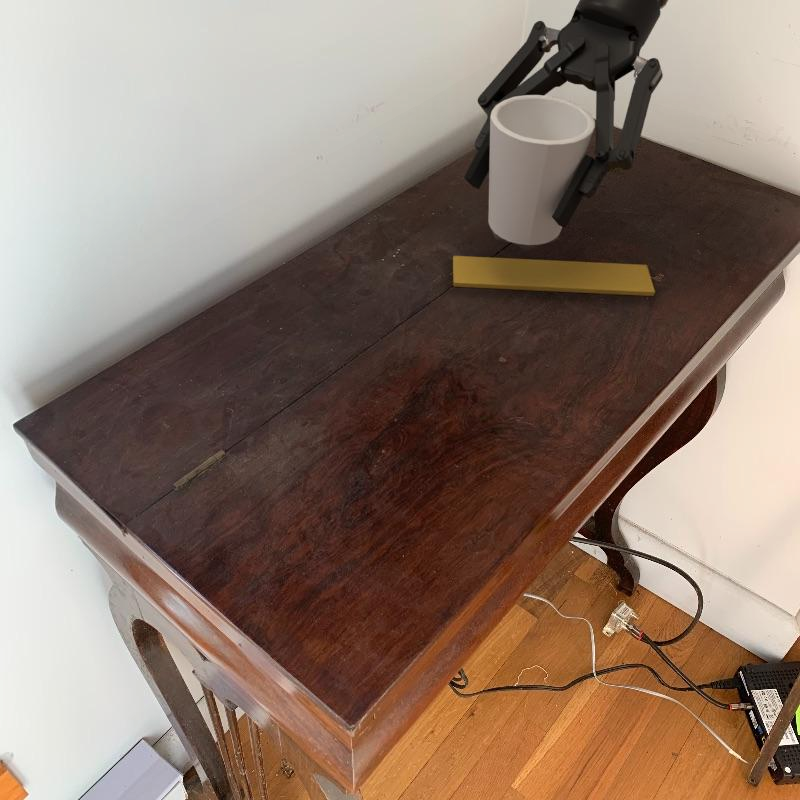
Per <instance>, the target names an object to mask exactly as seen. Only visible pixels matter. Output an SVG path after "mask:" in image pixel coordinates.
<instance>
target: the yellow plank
mask: <svg viewBox="0 0 800 800" xmlns="http://www.w3.org/2000/svg"><path fill="white" fill-rule="evenodd" d="M452 276H453V277H452V284H453V288H471V289H472V288H475V289H494V290H495V289H496V290H514V291H515V290H517V291H540V292H559V293H560V292H561V293H578V294H598V295H599V294H603V295H623V296H640V297H641V296H642V297H654V296H655V294H656V289H655V288H654V284H653V281H652V277H651V273H650V269H649V267H648V265H647V264H637V263H636V264H634V263H617V262H616V263H615V262H613V263H612V262H593V261H572V260H552V259H529V258H509V257H486V256H470V255H469V256H466V255H453V256H452Z"/></svg>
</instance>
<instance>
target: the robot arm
mask: <svg viewBox="0 0 800 800" xmlns="http://www.w3.org/2000/svg"><path fill="white" fill-rule="evenodd" d="M668 2H669V0H579V1H578V3H577V4H576V7H575V9H574V12H573V14H572V16H571V19H570V20H569V22H568V23H567V24H566V25H565V26H563V27H562V28H561V29H556V28H551V27H547V25H546V24H545V22H544V21H543V20H538V21H536V22H534V24H533V26H532V28H531V30H530V33H529V35H528V37H527V39H526V41H525V42H524V43H523V45H522V46H521V47H520V48H519V49H518V50H517V51H516V52H515V54H514V55H513V56H512V57H511V58H510V60H509V61H508V62H507V63H506V64H505V65H504V67H503V68H502V69H501V70H500V72H499V73H498V74H497V75H496V76H495V77H494V78H493V80H491V82H490V83H489V84H488V85H487V87H486V88H485V89H484V90H483V91H482V92H481V93H480V95H479V96H478V97H477V104H478V105H479V107H480V108H481V109H482V110H483V112H484V113H485V114H486V115H487V116H486V120H485V122H484V123H483V126H482V127H481V130H480V131H479V133H478V136H477V137H476V139H475V141H474V148H475V149H476V150H477V152H476V153H475V155H474V157H473V159H472V161H471V163H470V165H469V167H468V168H467V170H466V172H465V174H464V175H463V178H464V179H465V181H467V183H468V184H470V186H471V187H472V188H475V189H476V190H480V188H481V187H482V185H483V183H484V181H485V179H486V177H487V175H488V174H489V162H490V116H491V112H492V110H493V109H494V107H495V106H496V105H497V104H499V103H501V102H502V101H504V100H507V99H509V98H512V97H516V96H523V95H543V96H547V95H548V94H549V92H551V91H552V90H554V89H556V88H560V87H562V86H563V85H564V84H566V83H567V82H568V83H571V84H573V85H581V86H584V87H585V88H586V89H588V90H589V91H593V92H595V95H596V97H595V150H593V154H594V156H595V157H593V156H590V155H587V154H586V155H585V157H584V159H583V161H582V163H581V164H580V166H579V168H578V170H577V172H576V174H575V175H574V177H573V179H572V181H571V183H570V184H569V186H568V188H567V190H566V192H565V193H564V195H563V197H562V199H561V201H560V202H559V204H558V206H557V208H556V210H555V212H554V213H553V215H552V218H553V219H554V220H555V221H556V222H557V224H558V225H559V226H561V227H562V228H564V229H566V228H567V226H568V225H569V222H570V221H571V219H572V217H573V216H574V214H575V212H576V210H577V208H578V206H579V205H580V203H581V200H582V199H583V197H585V198H586V199H591V198H592V197H594V195H595V194H596V192H597V191H598V189H599V187H600V185H601V184H602V182H603V180H604V178H605V177H606V174H607V173H608V172H609V171H610V170H612V169H615V168H616V169H618V168H619V169H622V170H627V171H628V170H630V169H631V168H632V167H633V165H634V163H635V160H636V155H637V152H638V147H639V144H640V140H641V136H642V133H643V130H644V129H643V128H644V125H645V121H646V118H647V114H648V108H649V106H650V102H651V98H652V94H653V92H655V90H656V88H657V87H658V85H659V84H660V82H661V81H662V80H663V75H664V73H663V70H662V67H661V64H660V61H659V59H658V58H656V57H651V58H650V59H647V58H644V57H641V56H640V53H641V49H642V48H643V47H644V46H645V44H646V42H647V40H648V39H649V36H651V33H652V31H653V30H654V28H655V26H656V24H657V22H658V20H659V18H660V17H661V10H662V9H664V7H666V6H667V3H668ZM556 45H557V52H556V53H555V54H553V55H552V56H550V57H549V58H548V59H546V61H544V64H543V66H542V67H541V68H539V70H536V72H534V73H533V74H532V75H531V76H529V74H530V73H531V72H532V71H533V70H534V69H535V68H536V66H537V65H538V64H540V62H541V60H542V58H544V55H545V53H548V54H549V53H550V52H551V51H552V48H553V47H554V46H556ZM559 69H560V70H559ZM633 71H634V72H633ZM632 72H633V79H634V83H633V87H632V91H631V94H630V97H629V101H628V106H627V110H626V113H625V118H624V122H623V125H622V129H621V133H620V137H619V142H618V144H617V149H614V147H615V146H614V143H615V141H614V140H615V139H614V138H615V137H614V136H615V135H614V134H615V131H614V130H615V101H616V81H618V80H620V79H621V78H623V77H625V76H627V75H628V74H630V73H632ZM527 76H529V77H528V78H527ZM526 78H527V79H526ZM525 79H526V80H525Z"/></svg>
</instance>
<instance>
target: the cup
mask: <svg viewBox="0 0 800 800" xmlns="http://www.w3.org/2000/svg"><path fill="white" fill-rule="evenodd" d="M595 129H596V119H595V118H594V117H593V116H592V114H591V113H589V112H588V111H587V110H586V109H585V108H584V107H582V106H580V105H579V104H576V103H575V102H574V101H573V102H572V101H571V100H568V99H565V98H563V97H557V96H551V95H544V96H543V95H523V96H516V97H512V98H509V99H507V100H504V101H502V102H501V103H499V104H497V105H496V106H495V107H494V109H493V110H492V112H491V116H490V162H489V172H488V175H489V176H488V215H487V216H488V219H487V223H488V225H489V228H490V230H491V233H492V235H493V237H494V239H495V240H497V242H498V241H499V242H508V243H512V244H514V245H517V246H518V247H519V248H520V249H521V250H524V251H531V250H533V249H535V248H537V247H539V246H541V245H544V244H553V243H555V242H556V241H557V240H558V238H559V237H560V234H561V232H562V229H563V227H561V226H559V225H558V224H557V222H556V221H555V220H554V219H553V218H552V215H553V213H554V212H555V210H556V208H557V206H558V204H559V202H560V201H561V199H562V197H563V195H564V193H565V192H566V190H567V188H568V186H569V184H570V183H571V181H572V179H573V177H574V175H575V174H576V172H577V170H578V168H579V166H580V164H581V163H582V161H583V159H584V157H585V155H587V152H588V150H589V146H590V143H591V140H592V137H593V133H594V130H595Z"/></svg>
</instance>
